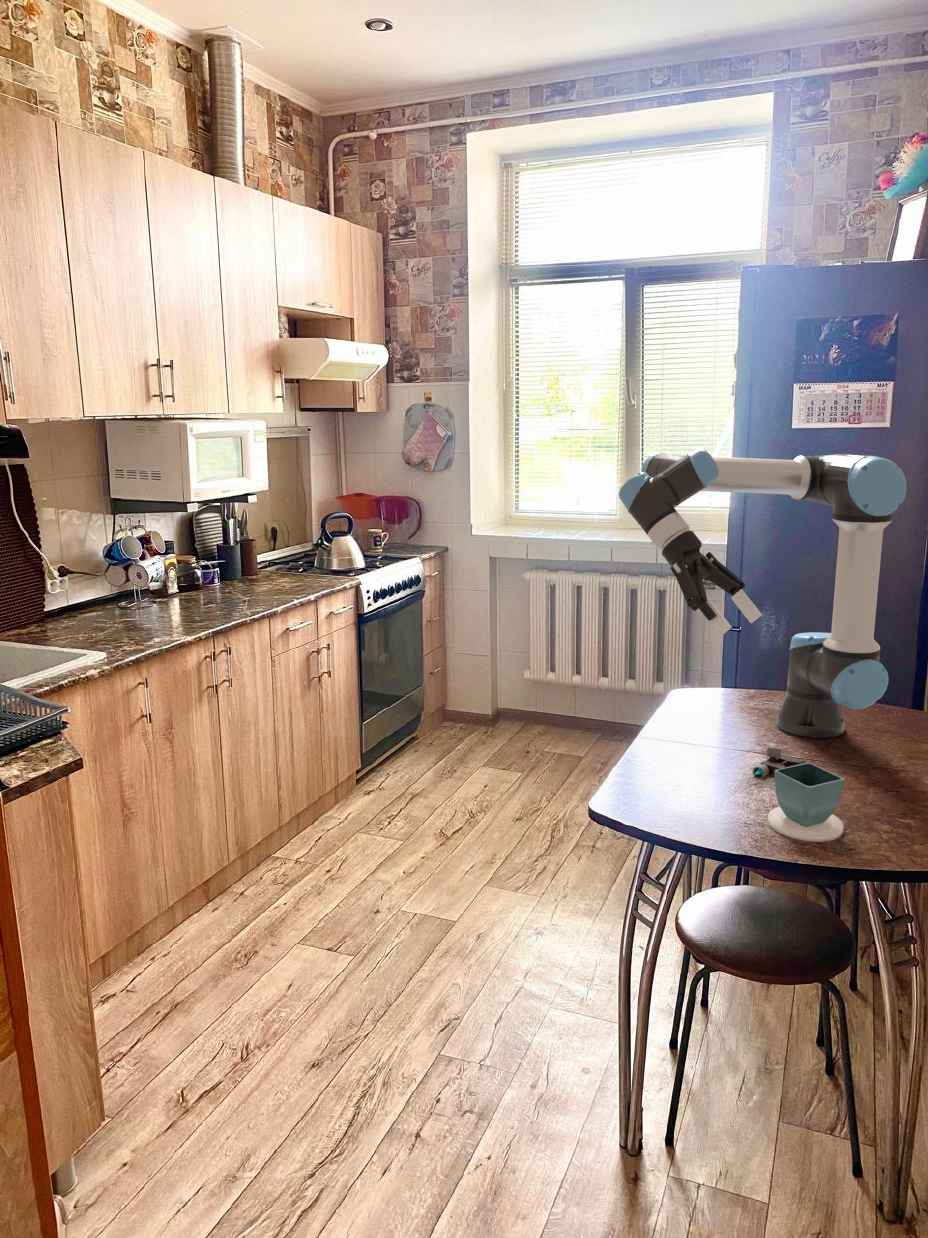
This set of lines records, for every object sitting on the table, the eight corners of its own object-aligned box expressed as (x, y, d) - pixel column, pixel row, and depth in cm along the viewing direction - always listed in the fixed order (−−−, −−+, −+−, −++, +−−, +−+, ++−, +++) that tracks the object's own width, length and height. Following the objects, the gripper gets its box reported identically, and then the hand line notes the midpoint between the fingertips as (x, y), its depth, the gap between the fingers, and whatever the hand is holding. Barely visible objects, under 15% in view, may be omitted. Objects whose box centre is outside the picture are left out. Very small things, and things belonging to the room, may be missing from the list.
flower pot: (804, 834, 164) (809, 787, 162) (769, 814, 172) (772, 769, 170) (841, 825, 168) (846, 778, 166) (805, 806, 176) (809, 761, 174)
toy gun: (747, 777, 193) (749, 755, 192) (776, 762, 201) (777, 741, 200) (791, 791, 186) (793, 768, 185) (819, 775, 194) (821, 753, 193)
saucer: (810, 806, 178) (810, 800, 178) (859, 835, 166) (859, 829, 166) (753, 816, 174) (753, 810, 174) (798, 846, 162) (799, 840, 162)
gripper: (692, 545, 197) (754, 625, 191) (631, 560, 178) (698, 649, 172) (717, 522, 192) (782, 603, 186) (656, 535, 174) (726, 625, 168)
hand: (741, 625), depth 179 cm, fingers open, 13 cm apart
